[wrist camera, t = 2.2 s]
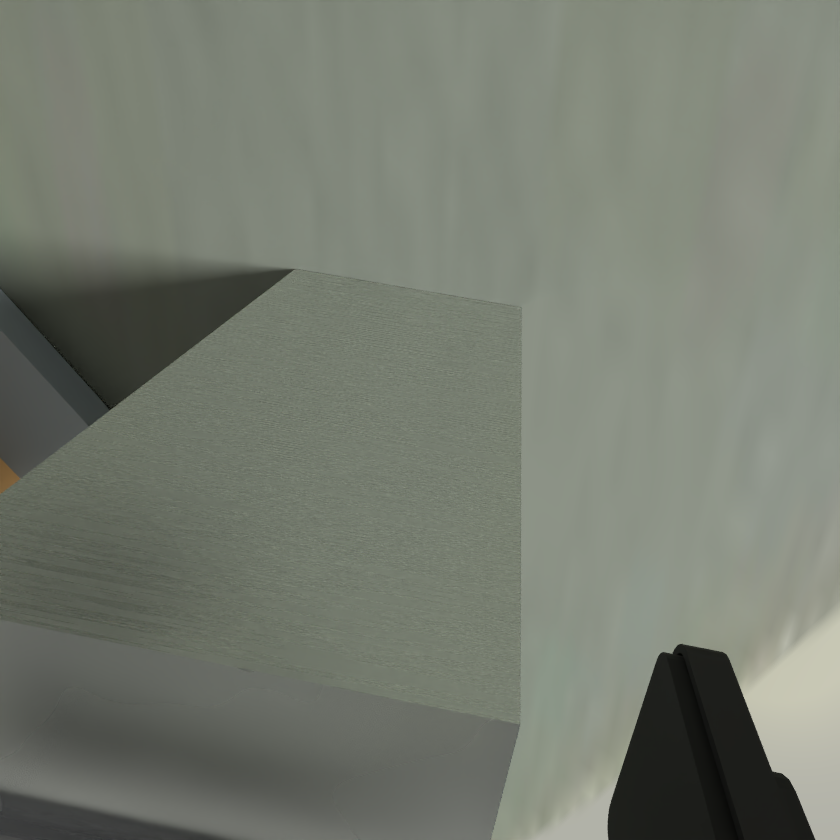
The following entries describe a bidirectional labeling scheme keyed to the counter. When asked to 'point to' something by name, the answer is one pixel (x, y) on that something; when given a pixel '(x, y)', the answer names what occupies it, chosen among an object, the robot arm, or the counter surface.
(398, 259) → the counter surface
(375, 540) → the block
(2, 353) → the collar plate
